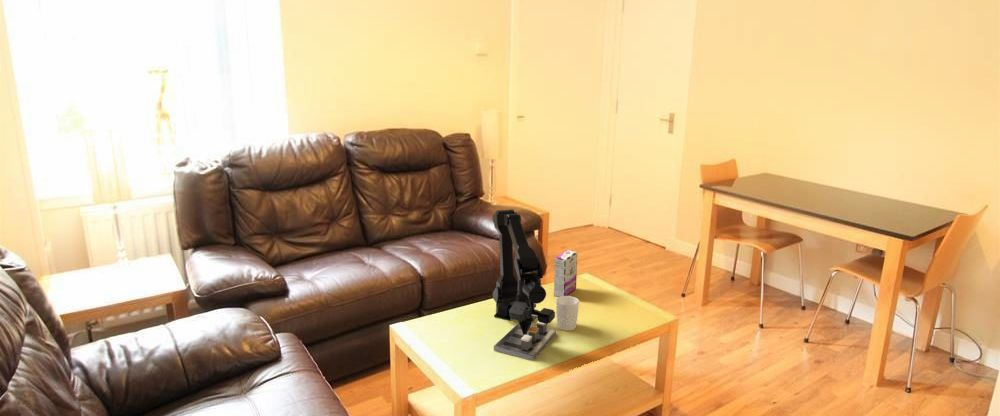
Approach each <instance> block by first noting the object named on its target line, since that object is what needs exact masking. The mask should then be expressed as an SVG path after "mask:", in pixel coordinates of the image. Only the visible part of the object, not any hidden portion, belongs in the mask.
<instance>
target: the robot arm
mask: <svg viewBox="0 0 1000 416" xmlns="http://www.w3.org/2000/svg"><path fill="white" fill-rule="evenodd" d="M521 217H522V216H521V214H520V212H518V211H517V212H515V210H514V209H512V208H511V209H499V210H495V213H492V223H493V224H494V225H493V227H494V229H495V230H496V232H497V233H498V237H499V264H500V265H499V266H500V268H499V269H500V274H499V276H498V277H497V280H496V286H495V288H494V290H493V292H492V299H493V301H494V302H495V305H496V306H495V307H496V308H495V314H494V315H493V317H494V318H499V319H503V320H506V321H507V320H508V321H510V320H511V321H517V323H519V324H520V327H521V330H522V332H523V335H527V333H528V330H529V328H530V326H531V325H533V324H532V323H533V322H535V321H536V320H537V322H538V321H539V322H541V323H545V324H547V325H549V324H550V323H551V322H553V320H554V319H555V318H556V313H555V312H556V311H555V310H554V309H551V308H546V307H543V308H542V309H541V310H539V309H536V307H537V305H539V304H541V303H542V302H543V301H544V300H546V296H547V292H546V289H545V288H544V287H543V285H541V284H542V283H541V282H540V280H539V279H543V278H544V275H543V274H544V271H543V267H542V263H541V262H542V261H541V259H540V258H539V257H538V255H537V253H536V250H534V249H533V248H532V247H531V246H530V245H529V242H528V239H527V236H526V233H525V231H524V228H523V225H522V219H521ZM513 248H514V249H513ZM513 251H514V252H515V257H514V252H513ZM514 269H515V270H514ZM514 271H515V273H516V276H517V278H516V276H515V274H514Z"/></svg>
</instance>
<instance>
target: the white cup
mask: <svg viewBox="0 0 1000 416" xmlns="http://www.w3.org/2000/svg"><path fill="white" fill-rule="evenodd" d="M555 300H556V301H555V302H556V308H555V309H556V311H555V312H556V313H555V314H556V327H557V328H558V329H559V330H560V331H561V330H562V331H568V332H569V331H574V330H575V329H576V328H577V323H578V322H577V321H578V316H579V306H580V300H579V298H577V297H574V296H570V295H568V296H561V297H556V299H555Z"/></svg>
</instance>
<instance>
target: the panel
mask: <svg viewBox="0 0 1000 416" xmlns="http://www.w3.org/2000/svg"><path fill="white" fill-rule="evenodd" d="M532 326H533V327H537V325H533V324H531V326H530V328H531V327H532ZM530 328H529V329H530ZM528 333H529V332H528ZM528 333H527V335H528ZM523 336H524V335H523V332H522V330H521V327H520V324H519V322H517V324H516V325H514V327H512V328H511V329H510V330H509V331H508V332H507V333H506V334H505V335H504V336H503V337H502V338H501V339H500V340H498V341H497V343H496V344H494V345H493V351H494V352H498V353H501V354H506V355H509V356H514V357H517V358H522V359H525V360H530V361H535V360H536V359H537V357H538V356H539V355H540V354H541V353H542V352H543V350H544V349H545V348H547V346H548V344H550V343H551V341H552V340H553V339H554V338H555V336H557V330H556V329H551V328H547V330H546V331H545V332H544V334H542V333H539V338H538V339H537V340H536V341H532V346H531V348H530V349H529V350H524V349H521V338H522V337H523Z"/></svg>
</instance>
